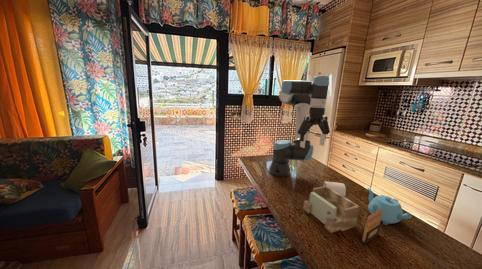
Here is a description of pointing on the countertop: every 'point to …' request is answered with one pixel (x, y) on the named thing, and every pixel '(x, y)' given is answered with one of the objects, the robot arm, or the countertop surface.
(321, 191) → the carcass
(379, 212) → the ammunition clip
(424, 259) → the countertop surface
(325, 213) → the door
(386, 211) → the teapot
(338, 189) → the mug
